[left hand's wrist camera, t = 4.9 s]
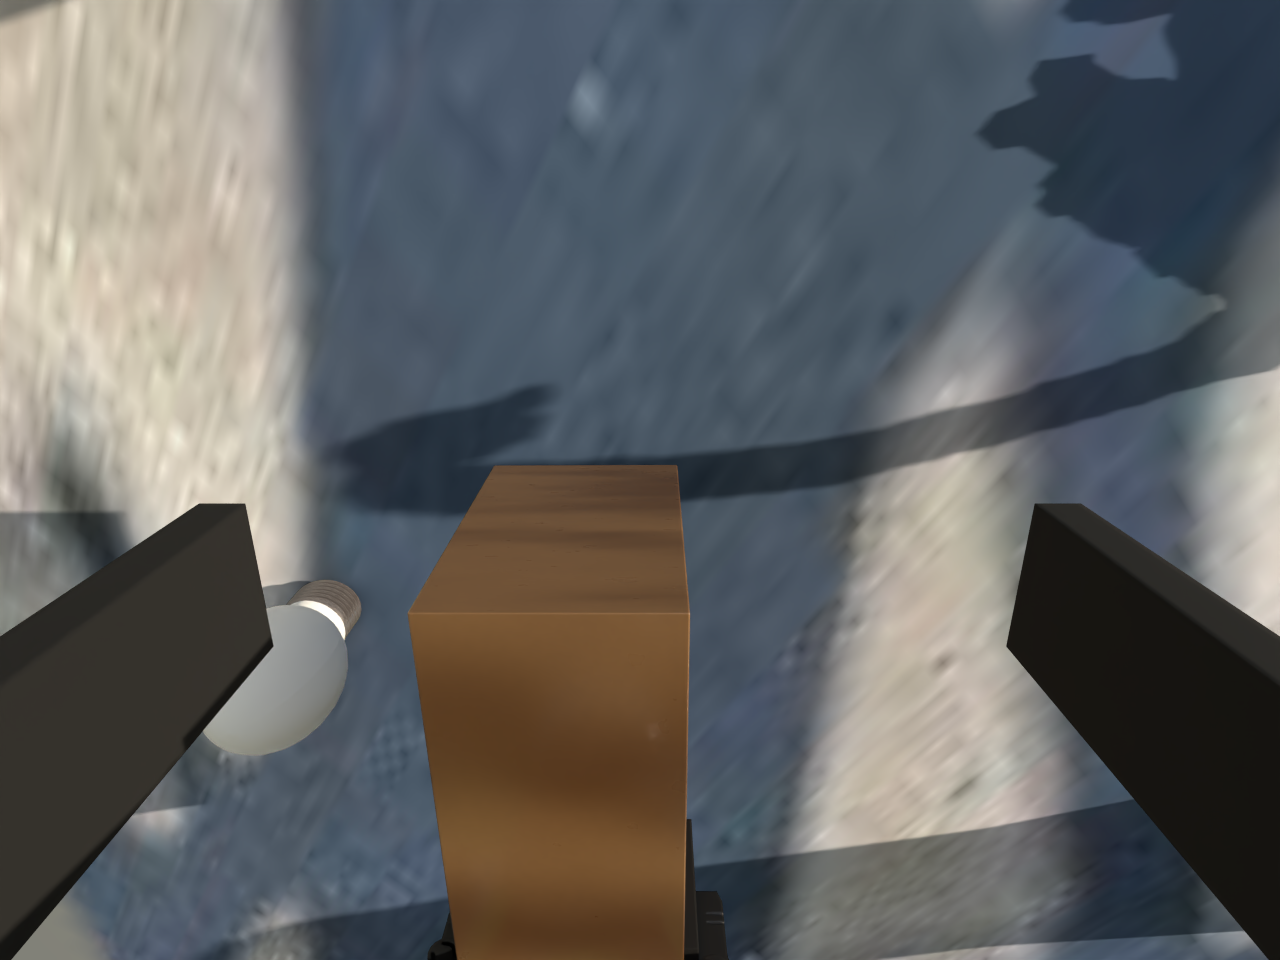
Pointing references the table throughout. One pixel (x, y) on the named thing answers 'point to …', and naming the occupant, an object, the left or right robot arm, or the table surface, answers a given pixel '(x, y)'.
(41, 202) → the table surface
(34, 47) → the table surface
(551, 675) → the box
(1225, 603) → the left robot arm
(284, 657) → the light bulb
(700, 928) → the right robot arm
